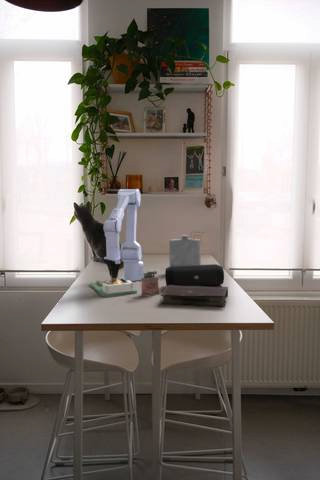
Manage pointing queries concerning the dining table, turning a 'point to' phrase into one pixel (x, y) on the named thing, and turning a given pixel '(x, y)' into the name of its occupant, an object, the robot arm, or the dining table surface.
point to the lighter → (150, 284)
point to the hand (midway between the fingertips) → (113, 277)
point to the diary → (194, 296)
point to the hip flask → (184, 251)
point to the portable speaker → (195, 275)
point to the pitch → (98, 288)
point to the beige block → (112, 281)
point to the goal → (117, 287)
